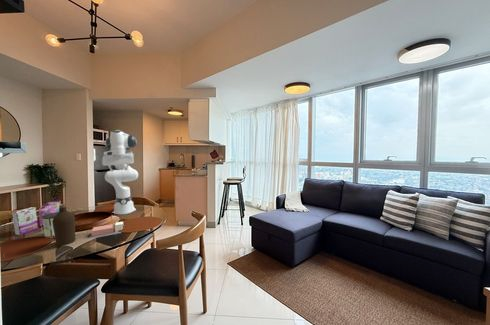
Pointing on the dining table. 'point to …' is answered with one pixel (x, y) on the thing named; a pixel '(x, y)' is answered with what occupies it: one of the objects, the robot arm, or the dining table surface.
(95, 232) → the pink block
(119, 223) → the stub
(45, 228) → the tissue box
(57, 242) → the olive oil
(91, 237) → the mat
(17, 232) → the candy bar box
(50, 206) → the gum box
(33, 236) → the dining table surface
